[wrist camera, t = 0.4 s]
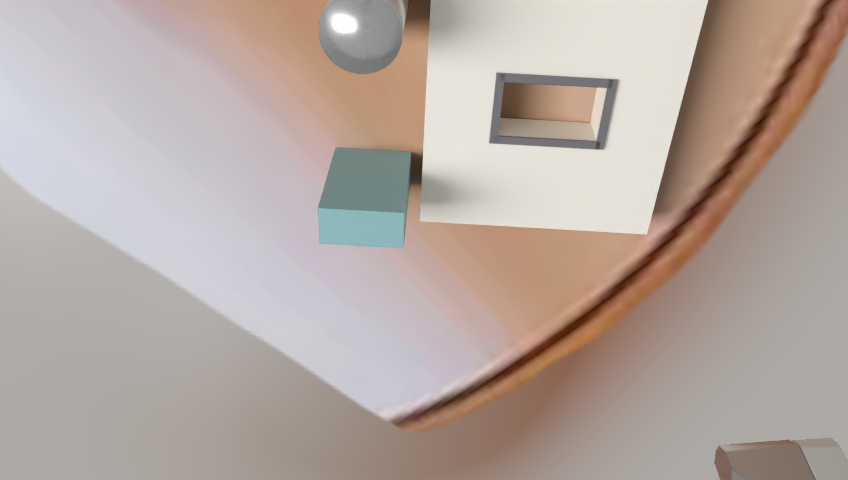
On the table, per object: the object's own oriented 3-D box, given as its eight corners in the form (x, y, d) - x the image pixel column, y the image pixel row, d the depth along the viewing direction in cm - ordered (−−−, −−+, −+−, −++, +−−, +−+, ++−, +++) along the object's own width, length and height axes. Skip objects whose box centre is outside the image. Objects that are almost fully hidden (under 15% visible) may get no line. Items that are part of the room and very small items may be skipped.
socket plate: (434, -52, 50) (432, -40, 47) (701, -37, 50) (715, -24, 47) (421, 201, 61) (419, 222, 59) (639, 213, 61) (647, 235, 59)
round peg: (337, -50, 50) (316, -11, 43) (411, -46, 50) (403, -6, 43) (339, 23, 53) (320, 71, 46) (409, 27, 53) (401, 76, 46)
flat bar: (335, 147, 59) (318, 208, 51) (411, 151, 59) (404, 213, 51) (336, 180, 60) (319, 243, 53) (409, 184, 60) (403, 248, 53)
